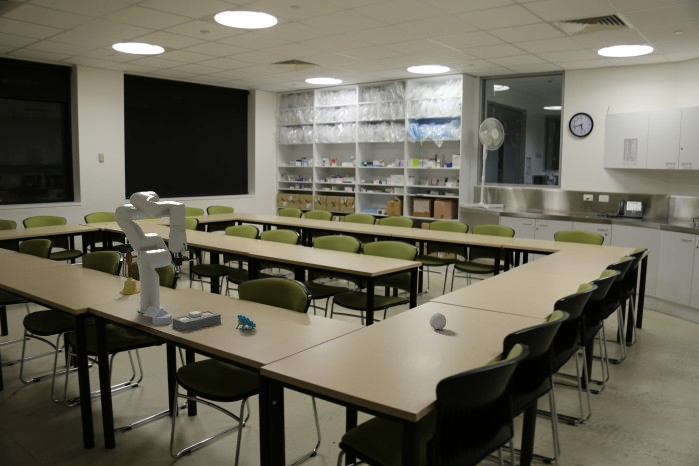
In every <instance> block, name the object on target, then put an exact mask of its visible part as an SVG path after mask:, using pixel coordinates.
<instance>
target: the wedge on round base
mask: <svg viewBox="0 0 699 466" xmlns="http://www.w3.org/2000/svg"><path fill="white" fill-rule="evenodd" d="M142 316H145V317H148V318H149V317H150V318H151V323H152V324H153V325H156V326H162V325H167V324H168V325H169V324H171V323H173V321H172V318H173V317H172V313H169V312H167V311H166V310H164V308H163V309H160V308H155V307H149V308H148V309H147V310H146V311H145V313H142Z"/></svg>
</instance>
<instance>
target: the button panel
mask: <svg viewBox="0 0 699 466" xmlns="http://www.w3.org/2000/svg"><path fill="white" fill-rule="evenodd" d="M200 312H201V313H207V312H208V313H211V314H208V315H203V314H202V316H199V317H195V318H193V317H190V316H189V314H186V315H182V316H176V317H172V327H173V328H176V329H177V330H180V331H183V332H186V331H191V330H195V329H199V328H204V327H207V326H212V325H216V324H220V323H222V318H221V317H222V314H220V313H218V312H214V311H211V310H205V311H200ZM184 317H186V318H189V319H186V320H179V318H184Z"/></svg>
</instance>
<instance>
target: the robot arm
mask: <svg viewBox="0 0 699 466" xmlns="http://www.w3.org/2000/svg"><path fill="white" fill-rule="evenodd" d="M186 216H187V215H186V205H185V203H182V202H177V201H160V198H159V195H158V194H157V193H156V192H154V191H140V192H139V191H138V192H135V193H133V194H131V196H130V198H129V204H128V203H126V204H122V205H119V206H117V207H116V209H115V211H114V217H115V222H116V223H117V224H116V225H117V226H118V228H120V229H121V231H122V232H123V233H124V235H125V236H126V238H127V240H128V242H129V245H130V246H131V248H132V249H133V250H134V252H135V253H139V254H137V257H136V264H137V267H138V274H139V289H140V293H139V298H140V301H139V304H140V307H138V308H137V312H138V313H139V314H141V313H142V314H144V313H145V311H146V310H147V309H148V308H149V307H155V308H160V309H163V310H164V307H163V306H162V305H161V301H160V300H161V299H160V297H161V296H160V294H161V293H160V275H159V274H158V272H157V271H156V269H159V268H164V267H168V266H170V264H171V263H172V261H173V260H172V259H173V258H172V254H173V256H174V266H175V267H180V266H181V267H182V266H183V264H184V263H183V258H184V256H185V255H186V252H188V251H187V250H188V240H187V233H186V231H187V224H186V223H187V222H186V221H187V218H186ZM149 217H152V218H154V219H155V218H157V219H159V218H160V219H161V218H169V233H168V246H167V245H166V243H165V241H164V239H163V237H162V236H161V235H160V234H157V233H145V232H144V231H143V229H142V227H141V226H140V225H139V224H138V223H136V222H134V221H137V220H146V219H148V218H149ZM171 253H172V254H171Z"/></svg>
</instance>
